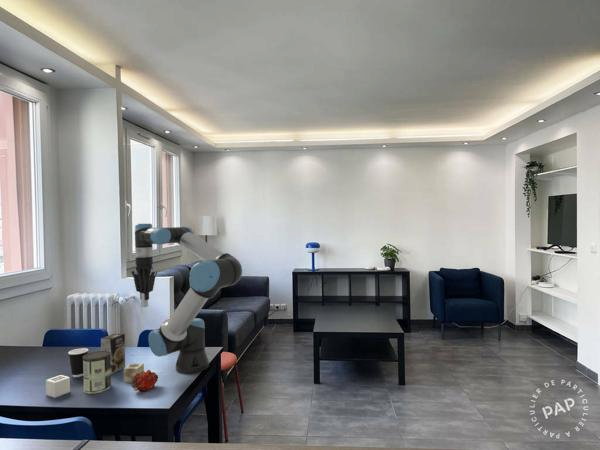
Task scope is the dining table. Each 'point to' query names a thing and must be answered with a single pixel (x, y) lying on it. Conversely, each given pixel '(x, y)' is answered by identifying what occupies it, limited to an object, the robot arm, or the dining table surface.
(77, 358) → the dixie cup
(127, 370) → the birch block
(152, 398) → the dining table surface
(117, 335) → the coffee box
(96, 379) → the coffee can
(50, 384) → the off-white block
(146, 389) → the dragon fruit
